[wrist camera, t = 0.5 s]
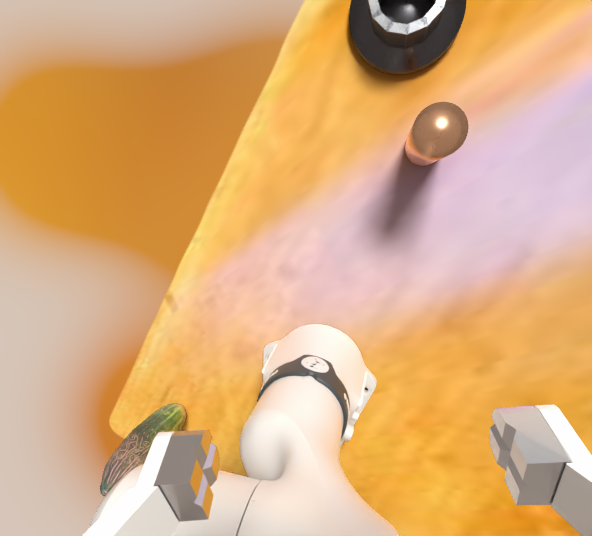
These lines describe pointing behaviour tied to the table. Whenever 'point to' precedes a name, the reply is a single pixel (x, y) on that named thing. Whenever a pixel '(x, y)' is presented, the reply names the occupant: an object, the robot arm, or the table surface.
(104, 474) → the vegetable
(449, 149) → the copper pipe
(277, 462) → the robot arm
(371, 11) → the pipe sleeve
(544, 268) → the table surface
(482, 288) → the table surface
